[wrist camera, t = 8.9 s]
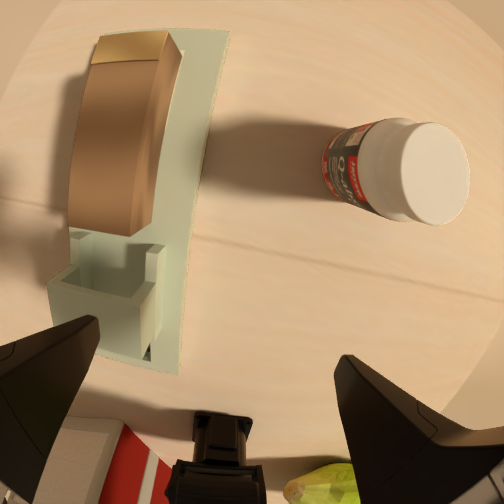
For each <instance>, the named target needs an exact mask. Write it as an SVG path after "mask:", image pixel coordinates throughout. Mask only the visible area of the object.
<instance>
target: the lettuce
mask: <svg viewBox="0 0 504 504" xmlns="http://www.w3.org/2000/svg"><path fill="white" fill-rule="evenodd" d="M283 495H284V497H285V499H286V500H287V501H288V502H289V503H290V504H361V503H360V498H359V493H358V488H357V484H356V479H355V475H354V470H353V466H352V464H349V463H335V464H329V465H326V466H324V467H321V468H318V469H317V470H315V471H313V472H311V473H308V474H306V475H303V476H301V477H298V478H295V479H293V480H291V481H289V482H288V483H287V484H286V486H285V488H284V492H283Z"/></svg>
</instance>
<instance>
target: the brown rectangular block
mask: <svg viewBox="0 0 504 504" xmlns="http://www.w3.org/2000/svg"><path fill="white" fill-rule="evenodd" d="M181 59H182V55H181V53H180V51H179V49H178V47H177V46H176V44H175V42H174V40H173V38H172V37H171V35H170V33H169V31H168V30H162V31H141V32H129V33H120V34H112V35H105V36H100V38H99V40H98V43H97V46H96V49H95V51H94V54H93V57H92V60H91V65H92V66H91V69H90V73H89V76H88V80H87V83H86V87H85V91H84V95H83V99H82V103H81V108H80V112H79V117H78V122H77V128H76V133H75V139H74V146H73V153H72V161H71V170H70V181H69V195H68V227H74V228H79V229H85V230H91V231H97V232H102V233H108V234H114V235H120V236H126V237H131V236H132V235H134V234H135V233H137V232H138V231H140V230H141V229H143V228H144V227H146V226H147V225H149V224H150V223H151V222H152V212H153V203H154V195H155V187H156V180H157V173H158V166H159V160H160V153H161V148H162V142H163V136H164V131H165V126H166V121H167V116H168V112H169V107H170V103H171V98H172V94H173V90H174V86H175V82H176V78H177V74H178V70H179V67H180V63H181Z"/></svg>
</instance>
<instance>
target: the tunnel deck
mask: <svg viewBox="0 0 504 504" xmlns="http://www.w3.org/2000/svg"><path fill="white" fill-rule="evenodd" d="M162 30H168V31H169V33H170V35H171V37H172V38H173V40H174V42H175V44H176V46H177V47H178V49H179V51H180V53H181V55H182V59H181V63H180V67H179V70H178V74H177V78H176V82H175V86H174V90H173V94H172V98H171V103H170V107H169V112H168V116H167V121H166V126H165V131H164V136H163V142H162V148H161V153H160V160H159V166H158V173H157V180H156V187H155V195H154V203H153V212H152V222H151V223H150V224H149V225H147V226H146V227H144V228H143V229H141V230H140V231H138V232H137V233H135V234H134V235H132V236H131V237H126V236H120V235H114V234H108V233H102V232H97V231H91V230H85V229H79V228H74V227H69V251H70V266H68V267H67V268H65V269H64V270H63V271H61V272H60V273H58V274H57V275H55V276H54V277H53V278H51V279H50V280H48V281H47V282H46V283H47V291H48V298H49V304H50V310H51V315H52V320H53V325H54V327H55V326H57V325H60V324H63V323H65V322H68V321H71V320H73V319H76V318H79V317H82V316H84V315H87V314H89V315H93V316H96V317H97V318H98V320H99V328H100V341H99V344H98V346H97V349H96V351H95V354H96V355H99V356H102V357H105V358H109V359H112V360H116V361H119V362H123V363H126V364H130V365H134V366H138V367H142V368H146V369H150V370H155V371H159V372H164V373H168V374H173V375H178V372H179V369H180V364H181V345H182V330H183V316H184V304H185V293H186V282H187V272H188V263H189V254H190V246H191V238H192V230H193V223H194V216H195V209H196V202H197V195H198V189H199V183H200V177H201V171H202V165H203V159H204V154H205V148H206V143H207V138H208V132H209V127H210V122H211V118H212V113H213V108H214V103H215V99H216V94H217V90H218V86H219V81H220V77H221V73H222V69H223V65H224V61H225V57H226V53H227V49H228V46H229V42H230V33H229V31H223V30H210V29H190V28H162V29H142V30H130V31H121V32H113V33H106V34H104V36H105V35H112V34H120V33H129V32H141V31H162Z"/></svg>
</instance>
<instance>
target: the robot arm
mask: <svg viewBox="0 0 504 504" xmlns="http://www.w3.org/2000/svg"><path fill="white" fill-rule="evenodd" d="M99 341H100V328H99V320H98V318H97V317H96V316H93V315H89V314H87V315H84V316H82V317H79V318H76V319H73V320H71V321H68V322H65V323H63V324H60V325H57V326H55V327H52V328H49V329H46V330H44V331H41V332H38V333H36V334H33V335H30V336H27V337H25V338H22V339H19V340H17V341H16V342H15V341H14V342H11V343H8V344H6V345H3V346H0V504H8V503H7V501H6V498H5V495H6V493H7V491H8V490H10V491H11V492H12V493H14V494H15V495H17V496H18V497H20V498H21V499H23V500H24V501H26V502H27V503H29V504H32V503H33V501H34V497H35V494H36V491H37V488H38V485H39V482H40V479H41V476H42V473H43V471H44V468H45V465H46V463H47V460H48V457H49V454H50V452H51V449H52V447H53V444H54V442H55V440H56V437H57V435H58V433H59V430H60V428H61V426H62V423H63V421H64V419H65V417H66V415H67V413H68V410H69V408H70V406H71V404H72V402H73V400H74V398H75V396H76V394H77V392H78V390H79V388H80V386H81V384H82V382H83V380H84V378H85V376H86V374H87V372H88V369H89V367H90V364H91V361H92V359H93V356H94V354H95V351H96V349H97V346H98V344H99ZM334 381H335V388H336V395H337V402H338V408H339V413H340V417H341V421H342V424H343V428H344V432H345V436H346V440H347V445H348V449H349V453H350V457H351V461H352V466H353V470H354V475H355V479H356V484H357V488H358V493H359V498H360V503H361V504H504V426H502V427H497V428H491V429H484V430H471V429H467V428H465V427H463V426H461V425H459V424H457V423H456V422H454V421H452V420H450V419H448V418H446V417H444V416H443V415H441V414H439V413H437V412H436V411H434V410H432V409H431V408H429V407H428V406H426V405H425V404H423V403H422V402H420V401H419V400H416V398H414V397H413V396H411V395H410V394H408V393H407V392H405V391H404V390H402V389H401V388H399V387H398V386H397V385H395V384H394V383H392V382H391V381H389V380H388V379H386V378H385V377H383V376H382V375H381V374H379V373H378V372H376V371H375V370H373V369H372V368H371V367H369V366H368V365H366V364H365V363H364V362H362V361H361V360H359V359H358V358H356V357H355V356H354V355H342V356H341V358H340V360H339V362H338V364H337V366H336V369H335V371H334ZM252 424H253V420H252V419H251V418H242V417H232V416H223V415H215V414H208V413H201V412H196V413H195V414H194V424H193V438H192V441H193V442H195V445H194V453H193V462H189V461H183V460H180V459H177V462H176V465H173V467H172V473H171V477H170V480H169V482H168V484H167V487H166V489H165V491H164V495H165V496H166V497H167V498H168V501H169V504H267V499H266V489H265V483H264V477H263V471H262V465H256V466H246V441H247V438H248V435H249V433H250V430H251V427H252Z"/></svg>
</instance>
